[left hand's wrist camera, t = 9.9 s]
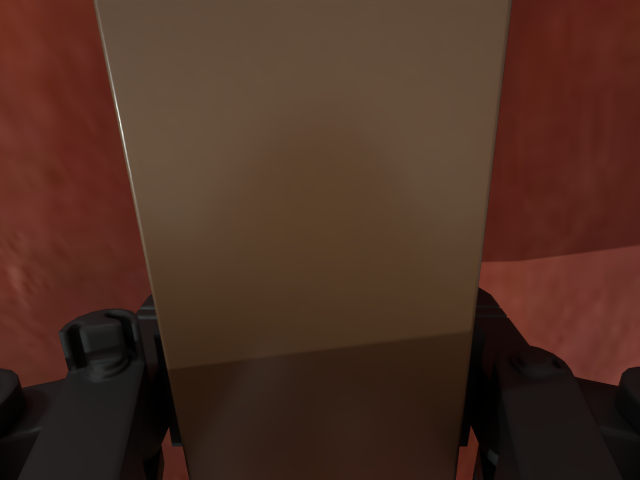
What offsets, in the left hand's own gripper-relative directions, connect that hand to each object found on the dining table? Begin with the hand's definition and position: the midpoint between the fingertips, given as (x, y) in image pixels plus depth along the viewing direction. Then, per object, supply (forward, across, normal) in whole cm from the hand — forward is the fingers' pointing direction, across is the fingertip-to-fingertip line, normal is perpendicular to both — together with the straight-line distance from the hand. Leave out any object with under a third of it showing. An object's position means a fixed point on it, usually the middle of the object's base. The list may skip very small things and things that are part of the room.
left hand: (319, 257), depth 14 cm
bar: (+1, +1, -24) cm, 24 cm away
